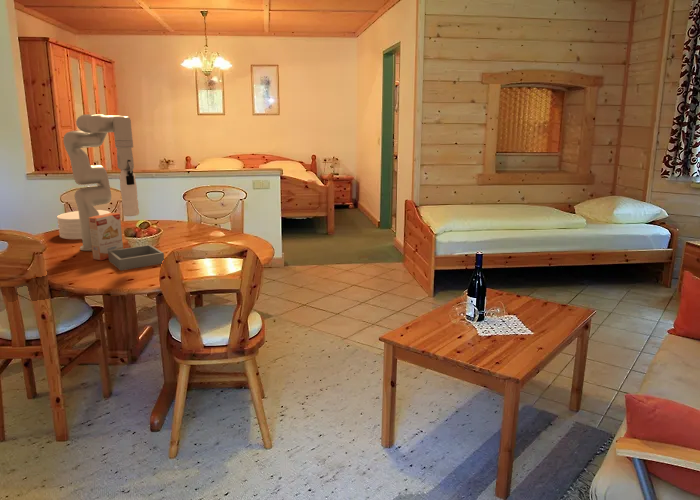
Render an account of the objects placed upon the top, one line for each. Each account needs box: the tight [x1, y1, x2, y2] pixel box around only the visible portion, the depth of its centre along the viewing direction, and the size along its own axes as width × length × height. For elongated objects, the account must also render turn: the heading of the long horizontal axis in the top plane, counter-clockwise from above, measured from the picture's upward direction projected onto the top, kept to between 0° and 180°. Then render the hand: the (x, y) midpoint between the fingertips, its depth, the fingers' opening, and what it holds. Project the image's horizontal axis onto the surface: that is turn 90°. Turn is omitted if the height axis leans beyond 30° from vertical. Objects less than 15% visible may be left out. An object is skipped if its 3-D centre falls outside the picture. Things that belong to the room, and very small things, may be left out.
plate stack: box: [56, 209, 111, 240], centre depth 330 cm, size 28×28×12 cm
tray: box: [108, 244, 165, 271], centre depth 270 cm, size 20×20×5 cm
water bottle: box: [118, 168, 140, 217], centre depth 262 cm, size 7×7×25 cm
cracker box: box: [89, 212, 124, 261], centre depth 278 cm, size 14×6×21 cm, turn 153°
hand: (128, 183), depth 262 cm, fingers closed on water bottle, 7 cm apart
